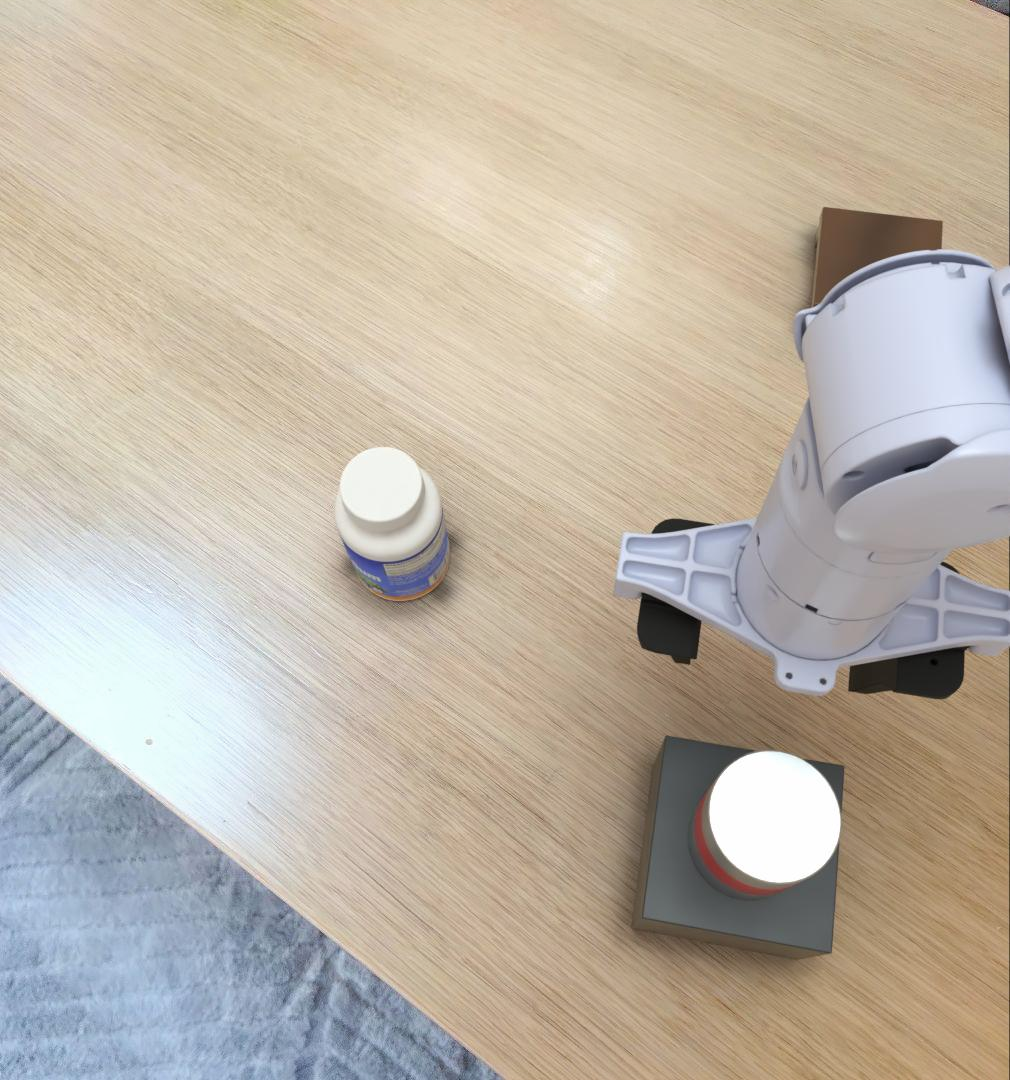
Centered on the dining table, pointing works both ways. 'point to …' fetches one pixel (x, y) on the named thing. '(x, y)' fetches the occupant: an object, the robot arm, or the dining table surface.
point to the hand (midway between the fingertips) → (769, 656)
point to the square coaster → (689, 900)
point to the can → (764, 825)
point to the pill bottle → (392, 524)
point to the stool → (865, 243)
